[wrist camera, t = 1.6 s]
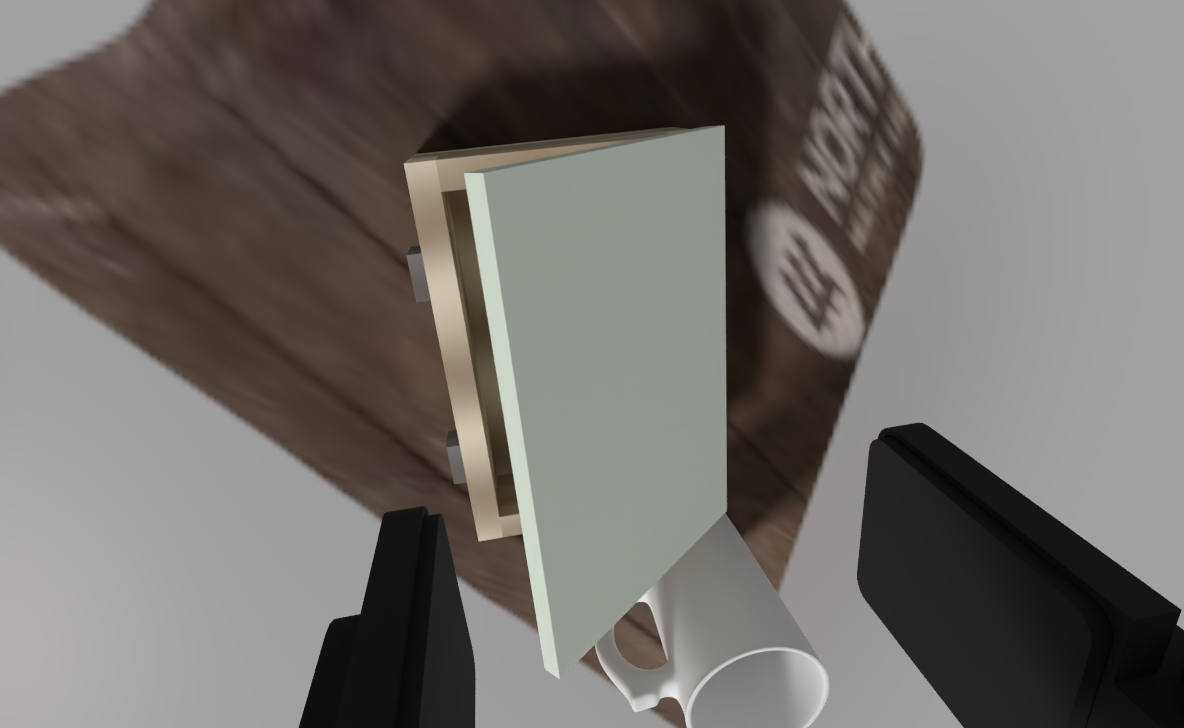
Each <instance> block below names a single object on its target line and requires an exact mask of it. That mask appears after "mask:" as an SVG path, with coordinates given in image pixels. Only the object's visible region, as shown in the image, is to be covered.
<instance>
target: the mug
mask: <svg viewBox="0 0 1184 728" xmlns="http://www.w3.org/2000/svg"><path fill="white" fill-rule="evenodd" d="M637 602H645V603H647V604H648V605H649V606H650V608H651V610H652V613H653V615H654V618H655V622H656V625H657V628H658V631H659V635H660V638H661V641H662V645H663V648H664V651H665V654H666V658H667V663H666V664H665V665H663V666H662V667H659V668H657V669H652V670H643V669H640V668H637V667H635V666H633V665H631V664H630V663H629V662H627V661H626V660H625V659H624V658H623V657H622V655H621V654H620V652H619V651H618V649H617V647H616V644H615V641H614V626H613V627H612V628H611V629H610V630H609V631H608V632H607V633H606V634H605V635H604V636H603V637H602V638H601V639H600V640H599V641H598V642H597V643H596V644H595V648H596V652H597V656H598V658H599V661H600V663H601V665H602V667H603V669H604V670H605V672H606V673H607V675H608V676H609V678H610V679H611V680H612V681H613V683H614V684H615V685H616V686H617V687H618V688H619V690H620V691H621V692H622V693H623V694H624V695H625V696H626V698H627V699H628V700H629V702H630V704H631V706H632V709H633V711H635V712H639V711H641V710H644V709H647V708H651V707H654V706H656V705H657V704H658V702H659V700H660V699H661V698H663V697H673V698H676V699H677V700H678V701H679V703H680V705H681V707H682V709H683V712H684V715H685V721H686V726H687V728H808V727H809V726H810V725H811V723H812V722H813V721H814V720H815V719H816V718H817V716H818V715H819V714H820V712H821V711H822V709H823V707H824V705H825V703H826V700H827V698H828V694H829V688H830V686H829V685H830V683H829V677H828V673H827V671H826V669H825V667H824V666H823V664H822V663H821V662H820V661H819V659H818V657H817V655H816V654H815V652H814V650H813V648H812V647H811V645H810V644H809V642H808V640H807V639H806V637H805V636H804V634H803V632H802V631H801V629H800V628H799V626H798V625H797V623H796V622H795V620H794V618H793V617H792V615H791V614H790V612H789V611H788V609H787V608H786V606H785V604H784V603H783V601H782V600H781V598H780V597H779V595H778V594H777V592H776V590H775V589H774V587H773V586H772V584H771V583H770V581H769V580H768V578H767V576H766V575H765V573H764V572H763V570H762V569H761V567H760V566H759V564H758V562H757V561H756V559H755V558H754V556H753V555H752V553H751V551H750V550H749V548H748V547H747V545H746V543H745V542H744V540H743V539H742V537H741V536H740V534H739V532H738V531H737V529H736V528H735V526H734V525H733V524H732V522H731V521H730V519H729V518H728V516H727V515H726V513H725V514H724V515H723V516H722V517H721V518H720V519H719V520H718V521H717V522H716V523H715V524H714V525H713V526H712V527H711V528H710V529H709V530H708V531H707V532H706V533H705V534H704V535H703V536H702V537H701V538H700V539H699V540H698V541H697V542H696V543H695V544H694V545H693V546H692V547H691V548H690V549H689V550H688V551H687V552H686V553H685V554H684V555H683V556H682V557H681V558H680V559H679V560H678V561H677V562H676V563H675V564H674V565H673V566H672V567H671V568H670V569H669V570H668V571H667V572H666V573H665V574H664V575H663V576H662V577H661V578H660V579H659V580H658V581H657V582H656V583H655V584H654V585H653V586H652V587H651V588H650V589H649V590H648V591H647V592H646V593H645V594H644V595H643V596H642V597H641V598H640V599H639V600H638V601H637Z"/></svg>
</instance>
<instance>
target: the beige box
mask: <svg viewBox="0 0 1184 728" xmlns="http://www.w3.org/2000/svg"><path fill="white" fill-rule="evenodd" d="M685 130H690V129H684V128H677V127H667V128H658V129H648V130H639V131H629V132H620V133H610V134H601V135H591V136H582V137H572V138H563V139H553V140H544V141H534V142H525V143H515V144H506V145H496V146H487V147H477V148H468V149H458V150H449V151H439V152H430V153H421V154H415V155H414V156H412V157H411V158H410V159H409V160H408V161H406V162H405V163H404V167H405V172H406V177H407V182H408V187H409V192H410V197H411V202H412V207H413V212H414V217H415V222H416V227H417V232H418V237H419V242H420V246H414V247H410V249H409V251H408V253H407V260H408V264H409V269H410V274H411V279H412V284H413V288H414V293H415V298H416V302H424V301H431V303H432V308H433V313H434V318H435V323H436V328H437V333H438V338H439V343H440V348H441V353H442V358H443V363H444V369H445V374H446V379H447V384H448V389H449V394H450V399H451V404H452V409H453V414H454V419H455V424H456V429H457V430H452V431H448V438H447V452H448V457H449V461H450V466H451V471H452V476H453V481H454V484H458V483H464V482H467V485H468V490H469V495H470V500H471V505H472V510H473V515H474V520H475V525H476V530H477V535H478V540H479V541H484V540H490V539H495V538H501V537H507V536H512V535H518V534H523V532H522V526H521V520H520V514H519V508H518V501H517V495H516V489H515V483H514V477H513V471H512V465H511V459H510V452H509V446H508V440H507V434H506V428H505V422H504V416H503V410H502V403H501V397H500V391H499V385H498V379H497V373H496V367H495V361H494V354H493V348H492V342H491V336H490V330H489V324H488V318H487V312H486V305H485V299H484V293H483V287H482V281H481V275H480V269H479V262H478V256H477V250H476V244H475V238H474V232H473V226H472V220H471V213H470V207H469V201H468V195H467V189H466V183H465V177H464V173H466V172H471V171H476V170H482V169H487V168H492V167H497V166H502V165H508V164H513V163H518V162H523V161H528V160H534V159H539V158H544V157H549V156H554V155H560V154H565V153H570V152H575V151H580V150H586V149H591V148H596V147H601V146H607V145H612V144H617V143H622V142H627V141H633V140H638V139H643V138H648V137H653V136H659V135H664V134H669V133H674V132H679V131H685Z"/></svg>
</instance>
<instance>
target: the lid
mask: <svg viewBox="0 0 1184 728" xmlns="http://www.w3.org/2000/svg"><path fill="white" fill-rule="evenodd" d="M464 177H465V183H466V189H467V195H468V201H469V207H470V213H471V220H472V226H473V232H474V238H475V244H476V250H477V256H478V262H479V269H480V275H481V281H482V287H483V293H484V299H485V305H486V312H487V318H488V324H489V330H490V336H491V342H492V348H493V354H494V361H495V367H496V373H497V379H498V385H499V391H500V397H501V403H502V410H503V416H504V422H505V428H506V434H507V440H508V446H509V452H510V459H511V465H512V471H513V477H514V483H515V489H516V495H517V501H518V508H519V514H520V520H521V526H522V532H523V538H524V544H525V550H526V557H527V563H528V569H529V575H530V581H531V587H532V593H533V599H534V606H535V612H536V618H537V624H538V630H539V636H540V642H541V648H542V655H543V661H544V666H545V669H546V670H547V671H548V672H550V673H551V674H553V675H554V676H556V677H557V678H558V679H561V678H562V677H563V676H564V675H565V674H566V673H567V672H568V671H569V670H570V669H571V668H572V667H573V666H574V665H575V664H576V663H577V662H578V661H579V660H580V659H581V658H582V657H583V656H584V655H585V654H586V653H587V652H588V651H589V650H590V649H591V648H592V647H593V646H594V645H595V644H596V643H597V642H598V641H599V640H600V639H601V638H602V637H603V636H604V635H605V634H606V633H607V632H608V631H609V630H610V629H611V628H612V627H613V626H614V625H615V623H616V622H617V621H618V620H619V619H620V618H621V617H622V616H623V615H624V614H625V613H626V612H627V611H628V610H629V609H630V608H631V607H632V606H633V605H634V604H635V603H636V602H637V601H638V600H639V599H640V598H641V597H642V596H643V595H644V594H645V593H646V592H647V591H648V590H649V589H650V588H651V587H652V586H653V585H654V584H655V583H656V582H657V581H658V580H659V579H660V578H661V577H662V576H663V575H664V574H665V573H666V572H667V571H668V570H669V569H670V568H671V567H672V566H673V565H674V564H675V563H676V562H677V561H678V560H679V559H680V558H681V557H682V556H683V555H684V554H685V553H686V552H687V551H688V550H689V549H690V548H691V547H692V546H693V545H694V544H695V543H696V542H697V541H698V540H699V539H700V538H701V537H702V536H703V535H704V534H705V533H706V532H707V531H708V530H709V529H710V528H711V527H712V526H713V525H714V524H715V523H716V522H717V521H718V520H719V519H720V518H721V517H722V516H723V515H724V514H725V513H726V511H727V442H726V274H725V125H723V126H705V127H700V128H695V129H690V130H685V131H679V132H674V133H669V134H664V135H659V136H653V137H648V138H643V139H638V140H633V141H627V142H622V143H617V144H612V145H607V146H601V147H596V148H591V149H586V150H580V151H575V152H570V153H565V154H560V155H554V156H549V157H544V158H539V159H534V160H528V161H523V162H518V163H513V164H508V165H502V166H497V167H492V168H487V169H482V170H476V171H471V172H466V173H464Z"/></svg>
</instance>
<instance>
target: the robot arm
mask: <svg viewBox="0 0 1184 728" xmlns="http://www.w3.org/2000/svg"><path fill="white" fill-rule="evenodd" d="M857 580H858V585H859V588H860V591H861V593H862V595H863V597H864V598H865V600H866V601H867V603H868V604H869V605H870V607H871V608H872V609H873V610H874V612H875V613H876V614H877V616H878V617H879V618H880V620H881V621H882V622H883V624H884V625H885V626H886V627H887V628H888V630H889V631H890V632H891V634H892V635H893V636H894V638H895V639H896V640H897V642H898V643H899V644H900V646H901V647H902V648H903V649H904V651H905V652H906V653H907V655H908V656H909V657H910V658H911V660H912V661H913V662H914V664H915V665H916V666H917V667H918V669H919V670H920V672H921V673H922V674H923V675H924V677H925V678H926V679H927V681H928V682H929V683H930V684H931V686H932V687H933V688H934V690H935V691H936V692H937V694H938V695H939V696H940V697H941V699H942V700H943V701H944V703H945V704H946V705H947V706H948V708H949V709H950V710H951V712H952V713H953V714H954V716H955V717H956V718H957V719H958V721H959V722H960V723H961V725H962V726H963V727H964V728H1184V630H1183V629H1181V628H1180V627H1179V626H1177V625H1176V624H1177V621H1178V618H1179V616H1180V613H1181V609H1179V608H1178V607H1177V606H1175V605H1174V604H1173V603H1171V602H1170V601H1168V600H1167V599H1166V598H1164V597H1163V596H1161V595H1160V594H1159V593H1157V592H1156V591H1155V590H1153V589H1152V588H1150V587H1149V586H1148V585H1146V584H1145V583H1144V582H1142V581H1141V580H1140V579H1138V578H1137V577H1135V576H1134V575H1133V574H1131V573H1130V572H1128V571H1127V570H1126V569H1124V568H1123V567H1121V566H1120V565H1119V564H1118V563H1116V562H1115V561H1113V560H1112V559H1111V558H1109V557H1108V556H1106V555H1105V554H1104V553H1102V552H1101V551H1100V550H1098V549H1097V548H1095V547H1094V546H1093V545H1091V544H1090V543H1089V542H1087V541H1086V540H1084V539H1083V538H1082V537H1080V536H1079V535H1077V534H1076V533H1075V532H1073V531H1072V530H1071V529H1069V528H1068V527H1066V526H1065V525H1064V524H1062V523H1061V522H1060V521H1058V520H1057V519H1056V518H1054V517H1053V516H1051V515H1050V514H1049V513H1047V512H1046V511H1045V510H1043V509H1042V508H1040V507H1039V506H1038V505H1036V504H1035V503H1033V502H1032V501H1031V500H1029V499H1028V498H1027V497H1025V496H1024V495H1022V494H1021V493H1020V492H1018V491H1017V490H1016V489H1014V488H1013V487H1011V486H1010V485H1009V484H1007V483H1006V482H1005V481H1003V480H1002V479H1000V478H999V477H998V476H996V475H995V474H993V473H992V472H991V471H990V470H988V469H987V468H985V467H984V466H983V465H981V464H980V463H978V462H977V461H976V460H974V459H973V458H972V457H970V456H969V455H968V454H966V453H965V452H963V451H962V450H961V449H959V448H958V447H956V446H955V445H954V444H952V443H951V442H950V441H948V440H947V439H946V438H944V437H943V436H941V435H940V434H939V433H937V432H936V431H935V430H933V429H932V428H930V427H929V426H927V425H925V424H923V423H914V424H908V425H902V426H896V427H890V428H885V429H883V430H882V431H881V432H880V434H879V436H878V439H876V440H874V441H872V443H871V444H870V449H869V457H868V468H867V478H866V488H865V499H864V508H863V519H862V529H861V539H860V549H859V559H858V569H857ZM299 728H475V663H474V656H473V650H472V645H471V640H470V636H469V632H468V627H467V623H466V618H465V614H464V609H463V605H462V600H461V596H460V592H459V587H458V582H457V578H456V573H455V569H454V564H453V560H452V555H451V551H450V546H449V542H448V537H447V533H446V528H445V524H444V520H443V517H442V514H435V515H429V513H428V511H427V508H426V507H425V506H421V507H415V508H409V509H403V510H397V511H391V512H386V513H385V514H384V516H383V519H382V523H381V528H380V532H379V536H378V541H377V545H376V549H375V554H374V558H373V562H372V567H371V571H370V575H369V580H368V584H367V588H366V592H365V597H364V601H363V605H362V610H361V614H359V615H354V616H349V617H343V618H338V619H334V620H333V621H332V622H331V623H330V625H329V627H328V629H327V632H326V635H325V638H324V642H323V645H322V649H321V652H320V656H319V659H318V663H317V666H316V669H315V673H314V677H313V680H312V683H311V687H310V690H309V694H308V697H307V701H306V704H305V708H304V711H303V715H302V718H301V722H300V725H299Z"/></svg>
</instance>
